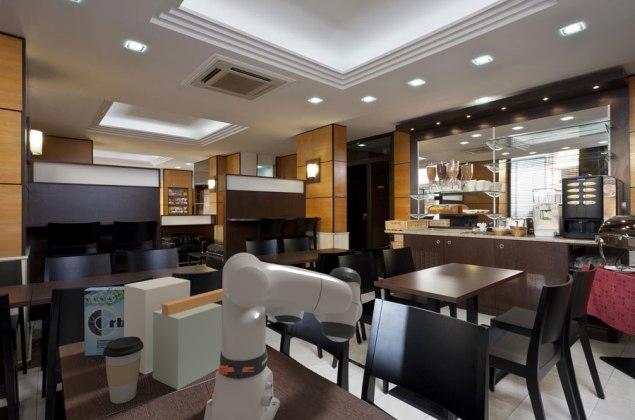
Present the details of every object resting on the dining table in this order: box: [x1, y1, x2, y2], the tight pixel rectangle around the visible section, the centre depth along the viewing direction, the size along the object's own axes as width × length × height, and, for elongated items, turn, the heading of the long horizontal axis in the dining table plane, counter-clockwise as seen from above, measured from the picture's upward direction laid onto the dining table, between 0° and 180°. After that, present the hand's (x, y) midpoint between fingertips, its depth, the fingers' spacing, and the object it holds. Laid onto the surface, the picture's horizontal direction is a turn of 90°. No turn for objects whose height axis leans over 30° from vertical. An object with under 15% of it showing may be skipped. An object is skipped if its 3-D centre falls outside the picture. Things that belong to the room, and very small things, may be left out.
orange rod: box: [162, 287, 223, 316], centre depth 107 cm, size 26×3×3 cm, turn 148°
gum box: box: [83, 286, 124, 356], centre depth 117 cm, size 20×5×23 cm, turn 98°
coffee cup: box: [102, 337, 144, 405], centre depth 89 cm, size 9×9×15 cm
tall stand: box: [124, 276, 191, 375], centre depth 111 cm, size 16×12×26 cm
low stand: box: [152, 302, 222, 391], centre depth 103 cm, size 16×12×20 cm
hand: (243, 290), depth 123 cm, fingers open, 8 cm apart
